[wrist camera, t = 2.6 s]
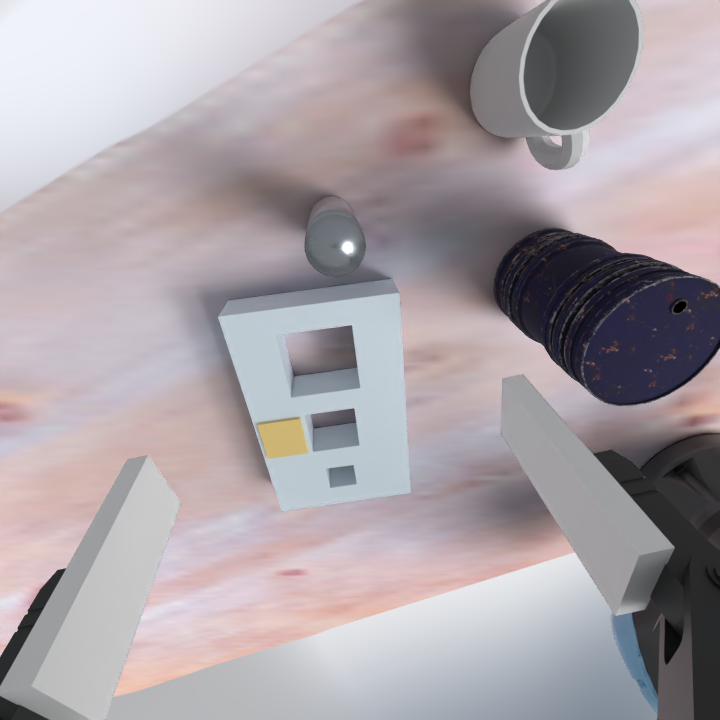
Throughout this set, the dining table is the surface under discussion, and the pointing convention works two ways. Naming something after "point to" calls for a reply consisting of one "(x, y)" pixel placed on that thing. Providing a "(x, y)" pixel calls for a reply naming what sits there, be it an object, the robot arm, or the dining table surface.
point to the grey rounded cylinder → (334, 238)
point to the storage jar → (610, 314)
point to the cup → (557, 74)
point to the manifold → (325, 393)
